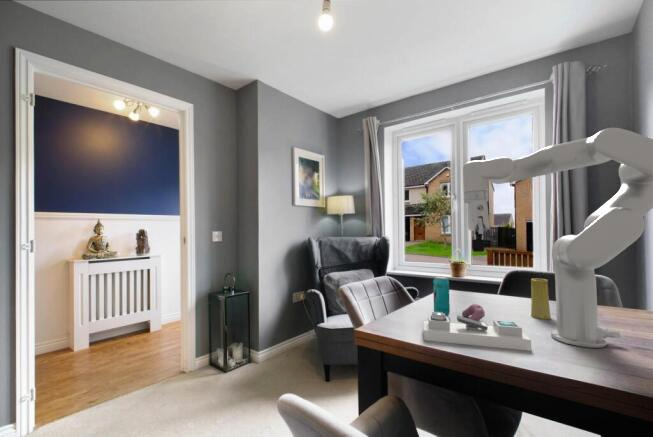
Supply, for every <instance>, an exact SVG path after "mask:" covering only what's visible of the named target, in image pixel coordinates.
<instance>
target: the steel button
mask: <svg viewBox="0 0 653 437" xmlns="http://www.w3.org/2000/svg"><path fill="white" fill-rule="evenodd" d="M431 315H432V320H438V321H445V313H442V312H434V311H433V312H431Z"/></svg>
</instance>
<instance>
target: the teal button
mask: <svg viewBox="0 0 653 437" xmlns="http://www.w3.org/2000/svg"><path fill="white" fill-rule="evenodd" d="M499 325H501V326H514V327H515V324H514V323H511V322H499Z"/></svg>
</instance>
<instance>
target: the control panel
mask: <svg viewBox="0 0 653 437" xmlns="http://www.w3.org/2000/svg"><path fill="white" fill-rule="evenodd" d="M427 319H428V320H423V340H424V341H428V342H436V343H437V342H439V343H447V344H458V345H459V344H460V345H467V346H468V345H469V346H478V347H479V346H480V347H489V348H497V349H510V350H517V351H518V350H519V351H528V352H532V339H531V338H530V337H529V336H528V335H527V334H526V333H525V332H523V328H522V326H521V325H519V324H518V323H517V321H512V320H511V321H510V320H501V319H500V320H498V319H492V321H493V322H492V323H493V326H492V325H486V326H487V327H488V328H487V330H484V329H480V328H477V327H474V326H471V325H467V324H464V323H459V322H457V323H455V322H451V321H450V319H449V316H448V317H446V316H445V321H438V320H432V314H428V317H427ZM499 322H511V323H514V324H515V327H514V326H501V325H499Z"/></svg>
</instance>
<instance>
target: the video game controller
mask: <svg viewBox="0 0 653 437" xmlns="http://www.w3.org/2000/svg"><path fill="white" fill-rule="evenodd" d="M485 314H486V313H485V310H484V308H483V307H482V306H481V305H479V304H477V303H472V304H470V306H468V307H467V308H466V309H464V310H463V311H462V312H461V317H465V318H467V317H468V319H471V320H475V321H478V322H480V320H482V319H483V318H485V317H486V316H485Z"/></svg>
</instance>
